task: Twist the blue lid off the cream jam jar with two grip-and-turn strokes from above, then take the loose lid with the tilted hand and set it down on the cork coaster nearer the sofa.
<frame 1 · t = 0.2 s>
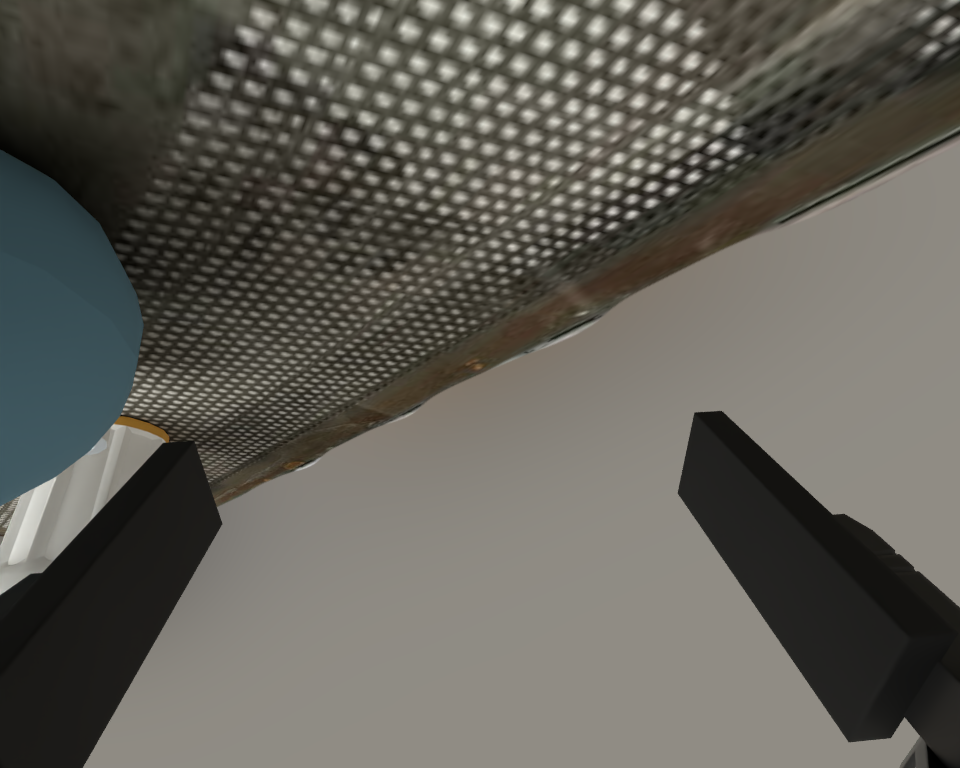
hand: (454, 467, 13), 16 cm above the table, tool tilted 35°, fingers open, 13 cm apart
cup: (113, 430, 45), on the table
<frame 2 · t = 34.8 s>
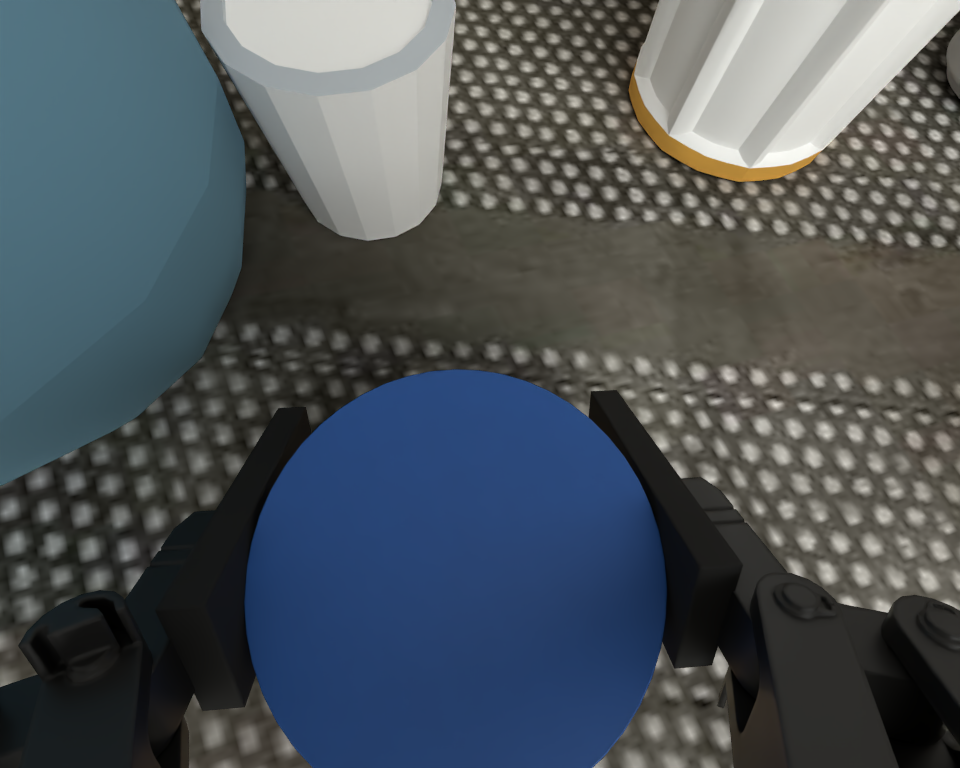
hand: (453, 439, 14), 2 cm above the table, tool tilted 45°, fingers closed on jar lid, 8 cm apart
jar lid: (459, 564, 10), point 6 cm above the table, off its thread, touching gripper
shot glass: (373, 185, 20), on the table
cup: (725, 105, 22), on the table
vase: (75, 298, 18), on the table
when the fingers open (2 cm above the table, at t = 45.3 s): jar lid drops 4 cm, resting on coaster.
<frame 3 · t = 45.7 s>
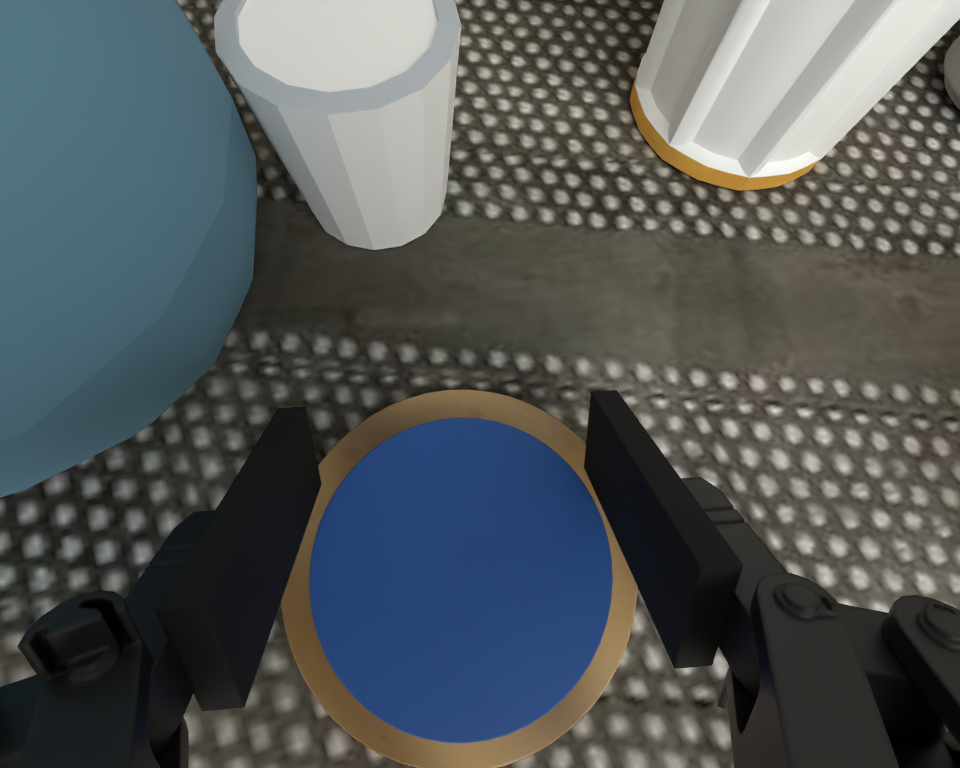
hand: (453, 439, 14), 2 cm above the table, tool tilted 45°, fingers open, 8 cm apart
jar lid: (462, 563, 13), point 2 cm above the table, off its thread, touching coaster
shot glass: (379, 195, 20), on the table
cup: (724, 115, 22), on the table
coaster: (461, 557, 15), on the table
vase: (90, 307, 18), on the table
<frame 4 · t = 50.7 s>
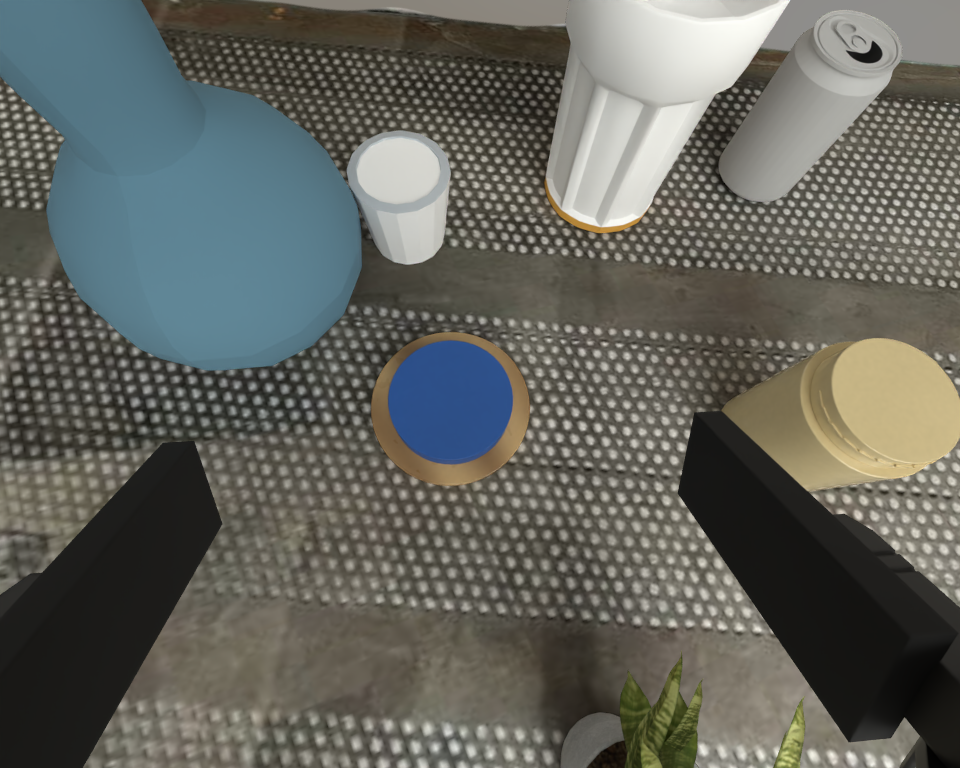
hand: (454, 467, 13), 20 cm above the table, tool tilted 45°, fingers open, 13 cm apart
jar lid: (451, 399, 32), point 2 cm above the table, off its thread, touching coaster
shot glass: (409, 235, 38), on the table
beverage can: (748, 179, 42), on the table
cup: (597, 189, 41), on the table
coaster: (451, 407, 34), on the table
jar: (768, 441, 34), on the table
vase: (268, 293, 36), on the table
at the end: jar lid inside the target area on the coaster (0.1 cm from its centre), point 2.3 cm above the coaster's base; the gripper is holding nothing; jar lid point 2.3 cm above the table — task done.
